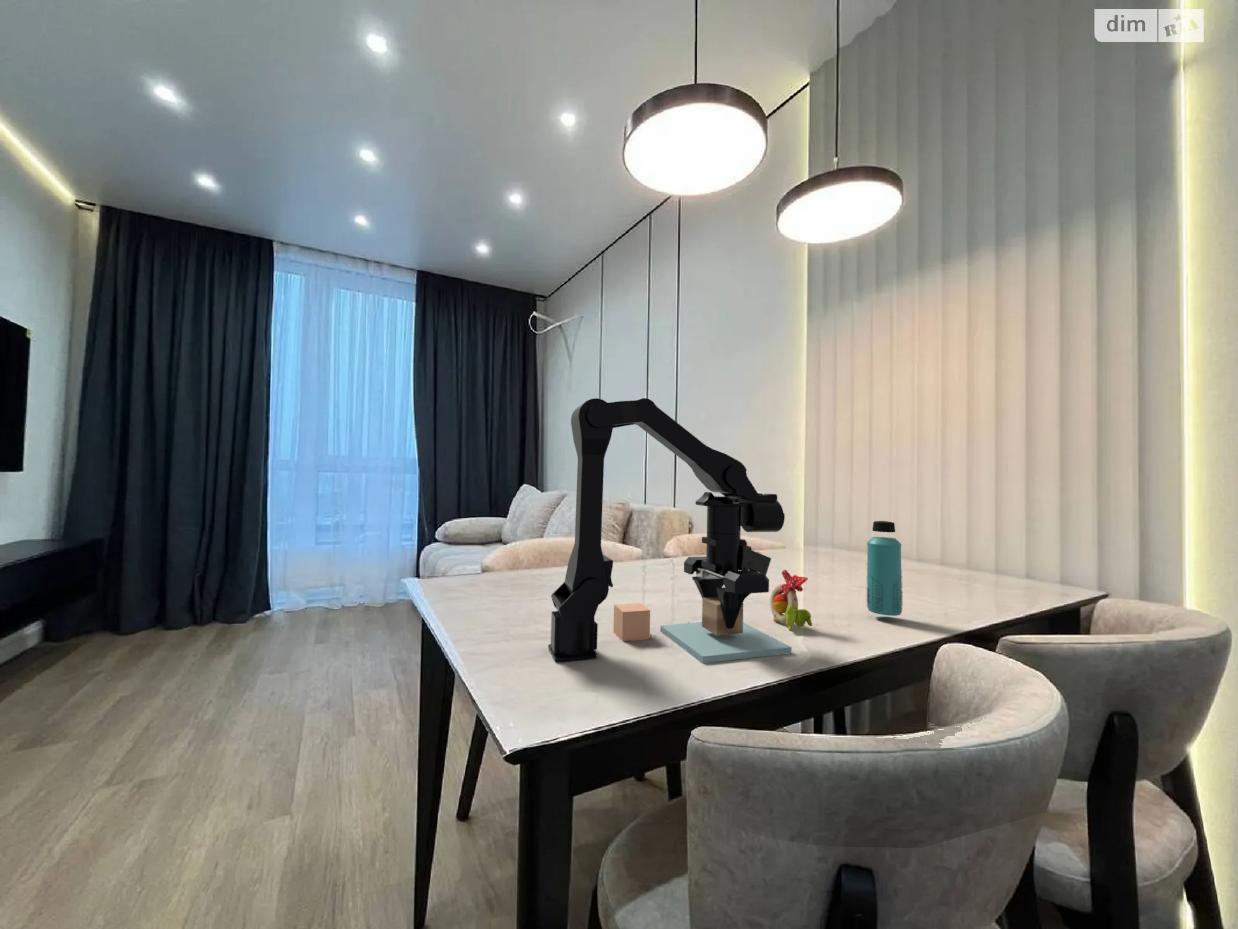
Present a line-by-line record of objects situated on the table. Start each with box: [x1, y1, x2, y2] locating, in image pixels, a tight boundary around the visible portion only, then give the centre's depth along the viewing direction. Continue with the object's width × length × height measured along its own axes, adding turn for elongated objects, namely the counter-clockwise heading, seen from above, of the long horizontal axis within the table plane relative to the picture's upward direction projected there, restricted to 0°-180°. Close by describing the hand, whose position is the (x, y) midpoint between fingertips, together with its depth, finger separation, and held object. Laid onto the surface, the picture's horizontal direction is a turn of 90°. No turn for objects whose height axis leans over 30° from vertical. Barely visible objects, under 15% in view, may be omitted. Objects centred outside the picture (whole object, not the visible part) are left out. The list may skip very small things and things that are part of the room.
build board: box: [659, 621, 792, 664], centre depth 83 cm, size 16×16×1 cm
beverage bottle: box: [866, 520, 904, 617], centre depth 100 cm, size 6×7×20 cm
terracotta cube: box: [612, 602, 651, 642], centre depth 85 cm, size 5×5×5 cm
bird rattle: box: [769, 569, 813, 631], centre depth 94 cm, size 6×11×9 cm
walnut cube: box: [701, 597, 744, 636], centre depth 83 cm, size 5×5×5 cm
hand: (721, 623), depth 83 cm, fingers closed on walnut cube, 5 cm apart
